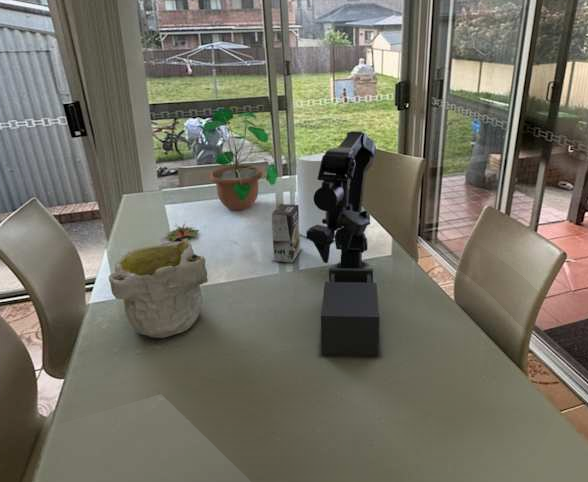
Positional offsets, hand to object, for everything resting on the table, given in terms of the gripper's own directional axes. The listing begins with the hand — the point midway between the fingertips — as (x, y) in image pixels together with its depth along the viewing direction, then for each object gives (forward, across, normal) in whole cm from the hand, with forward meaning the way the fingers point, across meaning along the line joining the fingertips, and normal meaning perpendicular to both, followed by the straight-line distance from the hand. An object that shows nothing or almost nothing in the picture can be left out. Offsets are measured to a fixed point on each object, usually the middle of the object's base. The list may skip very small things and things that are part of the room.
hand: (335, 257), depth 116 cm
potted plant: (+6, +37, +69) cm, 79 cm away
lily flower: (+10, +2, +66) cm, 67 cm away
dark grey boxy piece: (+12, -2, -6) cm, 13 cm away
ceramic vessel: (+14, -30, +31) cm, 46 cm away
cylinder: (+8, +34, +29) cm, 46 cm away
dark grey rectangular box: (+14, -11, -12) cm, 21 cm away
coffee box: (+10, +12, +26) cm, 30 cm away
